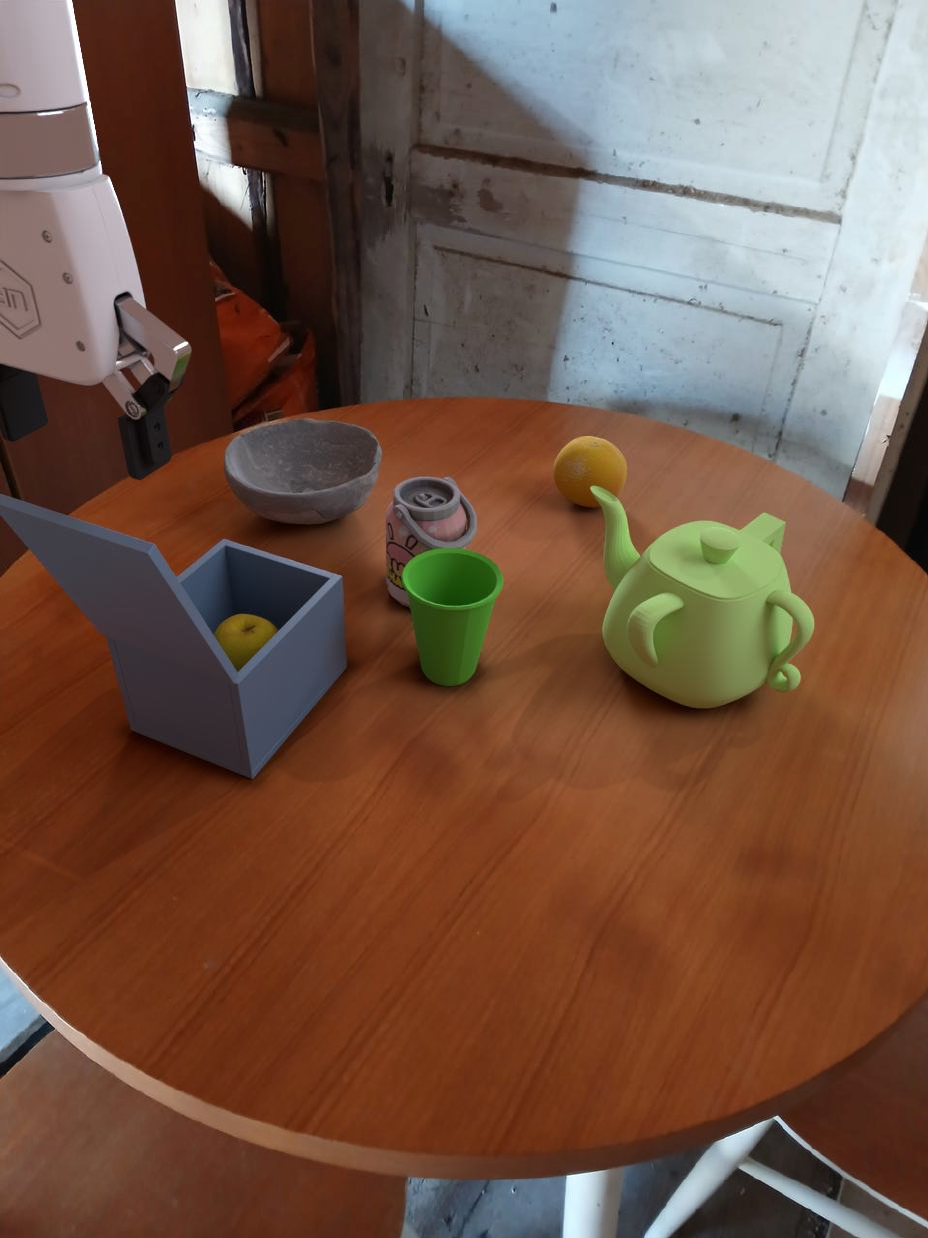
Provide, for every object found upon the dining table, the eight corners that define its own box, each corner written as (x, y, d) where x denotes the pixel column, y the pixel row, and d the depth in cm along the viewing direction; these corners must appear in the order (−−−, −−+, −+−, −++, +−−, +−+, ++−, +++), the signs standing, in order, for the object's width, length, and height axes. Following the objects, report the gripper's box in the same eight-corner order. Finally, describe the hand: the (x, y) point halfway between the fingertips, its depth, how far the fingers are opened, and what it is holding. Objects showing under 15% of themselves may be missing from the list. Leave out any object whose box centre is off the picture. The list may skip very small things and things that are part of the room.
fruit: (624, 489, 114) (635, 432, 109) (617, 523, 108) (627, 463, 103) (556, 478, 116) (563, 421, 111) (544, 510, 110) (551, 451, 105)
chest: (236, 628, 90) (223, 538, 83) (347, 667, 86) (342, 575, 79) (130, 730, 79) (105, 635, 72) (252, 779, 75) (237, 684, 68)
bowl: (198, 525, 104) (188, 463, 99) (285, 459, 117) (279, 402, 112) (333, 568, 98) (329, 505, 93) (408, 494, 111) (408, 435, 106)
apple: (280, 713, 80) (272, 644, 75) (208, 708, 80) (195, 639, 75) (294, 665, 85) (287, 597, 80) (226, 661, 85) (215, 593, 80)
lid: (-4, 492, 58) (-12, 501, 58) (155, 543, 54) (147, 553, 54) (107, 626, 72) (101, 634, 71) (239, 675, 68) (234, 684, 68)
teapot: (807, 727, 82) (857, 603, 73) (589, 718, 82) (612, 592, 73) (758, 602, 97) (795, 485, 88) (573, 593, 97) (591, 475, 88)
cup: (474, 630, 91) (480, 540, 84) (510, 689, 85) (520, 596, 78) (389, 649, 88) (388, 556, 82) (419, 711, 82) (421, 616, 75)
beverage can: (487, 592, 96) (494, 495, 89) (435, 629, 91) (438, 529, 84) (422, 558, 101) (423, 463, 93) (369, 592, 95) (366, 493, 88)
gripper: (-174, 130, 45) (-68, 443, 55) (101, 181, 40) (162, 514, 50) (-50, 110, 50) (26, 398, 61) (206, 153, 45) (241, 458, 56)
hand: (87, 450), depth 56 cm, fingers open, 9 cm apart
